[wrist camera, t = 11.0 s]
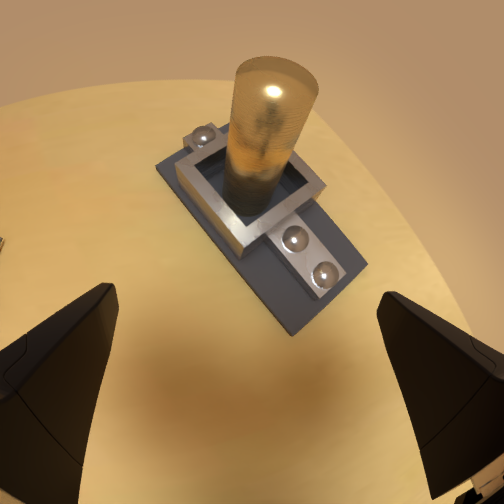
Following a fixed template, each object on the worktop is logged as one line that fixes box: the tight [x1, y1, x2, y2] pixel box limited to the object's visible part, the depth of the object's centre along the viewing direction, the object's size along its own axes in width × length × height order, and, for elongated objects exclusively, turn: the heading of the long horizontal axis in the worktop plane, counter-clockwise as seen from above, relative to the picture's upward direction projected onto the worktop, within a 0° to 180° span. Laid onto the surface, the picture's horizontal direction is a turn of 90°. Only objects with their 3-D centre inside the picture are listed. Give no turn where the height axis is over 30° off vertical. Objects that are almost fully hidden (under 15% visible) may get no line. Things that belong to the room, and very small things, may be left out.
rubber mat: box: [155, 123, 368, 336], centre depth 24 cm, size 18×9×1 cm, turn 40°
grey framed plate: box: [175, 122, 346, 301], centre depth 22 cm, size 17×8×4 cm, turn 40°
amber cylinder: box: [222, 56, 319, 217], centre depth 18 cm, size 4×4×12 cm
